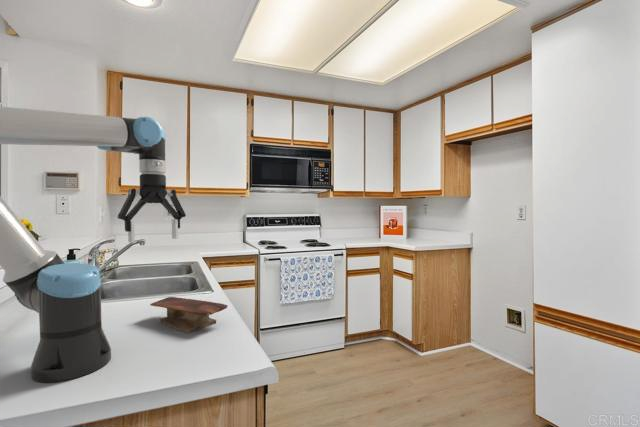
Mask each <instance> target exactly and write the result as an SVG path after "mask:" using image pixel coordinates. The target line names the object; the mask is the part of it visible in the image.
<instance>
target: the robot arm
mask: <svg viewBox="0 0 640 427" xmlns="http://www.w3.org/2000/svg"><path fill="white" fill-rule="evenodd" d="M0 145H20V146H21V145H25V146H26V145H30V146H67V147H68V146H71V147H73V146H75V147H77V146H78V147H80V146H81V147H84V146H85V147H86V146H87V147H96V148H97V149H99V150H102V151H108V152H119V153H128V154H135V155H138V160H139V161H138V162H139V165H138V166H139V168H138V169H139V173H140V175H139V189H136V188H129V189H128V195H127V197H126V198H125V199H126V200H125V201H124V203H123V205H122V207H121V209H120V211H119V213H118V215H117V219H118V220H123V221H124V231H125V232H127V233H128V235H127V238H128V243H131V244H132V243H133V244H134V243H135V221H134V220H133V218H134V217H135V216H136V215H137V214H138V212H139V211H140V210H141V209H142V208H143V207H144V206H145V205H146V204H161V205H162V206H163V207H164V208H165V210H166V211H167V212H168V213H169V214H170V215H171V217H173V218H172V219H171V239H174V240H178V239H179V229H181V219H183V218H185V217H186V215H187V214H186V213H185V211H184V208H183V206H182V204H181V203H180V200H179V199H178V197H177V191H176V189H169V190H167V177H166V133H165V129H164V127H162V125H160V123H159V122H158V120H156V119H155V118H153V117H149V116H140V117H137V118H133V117H132V118H129V117H119V116H118V117H117V116H107V115H97V114H84V113H74V112H65V111H54V110H53V111H52V110H43V109H42V110H41V109H32V108H30V109H29V108H23V107H22V108H21V107H10V106H0ZM138 195H139V196H140V197H141V198H140V199H139V200H137V203H136V204H135V205H134V206H133V207H132V208H131V206H132V204H133V202H134V200H135V199H136V197H137V196H138ZM166 196H168V197H169V199H170V201H171V203H172V204H170V202H169V200H168V199H167V198H166ZM172 205H173V206H172ZM130 208H131V209H130ZM0 267H1V268H2V270H4V274H3V277H2V281H3V282H4V283H5V285H6V287H8V288H9V289H10V290H11V291H12V292H13V293H14V296H15V298H16V300H17V302H18V303H20V304H21V305H22V306H23V307H25V308H27V309H28V310H31V311H34V312H36V313H38V318H39V321H38V322H39V338H40V339H39V342H38V345H37V348H36V351H35V354H34V357H33V359H32V362H31V365H30V377H31V379H32V380H33V381H35V382H40V383H56V382H62V381H68V380H73V379H77V378H79V377H83V376H85V375H89V374H91V373H93V372H95V371H97V370H99V369H101V368H103V367H104V366H106V365H107V364H108V363H110V361H111V359H112V348H111V345H110V343H109V341H108V339H107V337H106V335H105V332H104V329H103V327H102V325H103V324H102V294H101V293H102V292H101V290H102V288H101V285H102V279H101V276H100V275H101V274H100V269H99V268H98V267H97V266H95V265H93V264H90V263H80V262H70V263H65V262H64V260H63V259H62V258H61V257H60V255H58V253H57V251H54V250H49V249H45V248H44V247H43V246H42V245H41V244H40V242H39V241H38V240H37V239H36V237H35V236H34V235H33V234H32V233H31V231H30V230H29V229H28V228H27V227H26V225H25V224H24V223H23V221H21V220H20V218H19V217H18V216H17V214H15V212H14V211H13V210H12V209H11V207H10V206H9V205H8V204H7V202H6V201H5V200H4V199H3V197H2V196H1V195H0Z"/></svg>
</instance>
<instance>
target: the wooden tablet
mask: <svg viewBox="0 0 640 427" xmlns="http://www.w3.org/2000/svg"><path fill="white" fill-rule="evenodd" d="M149 306H151V307H159V308H163V309H167V308H168V309H174V310H180V311H184V312H188V313H192V314H196V315H202V316H208V315H209V316H211V315H214V314H215V313H219V312H221V311H223V310H225V309H227V308H228V305H227V304H224V303H220V302H214V301H209V300H208V301H207V300H201V299H199V300H198V299H192V298H184V297H176V296H175V297H174V296H168V297H165V298H162V299H160V300H157V301H154V302H151V303H150V304H149Z"/></svg>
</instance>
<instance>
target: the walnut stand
mask: <svg viewBox="0 0 640 427" xmlns="http://www.w3.org/2000/svg"><path fill="white" fill-rule="evenodd" d="M159 322H160V323H162V324H164V325H167V326H169V327H171V328H173V329H176V330H178V331H181V332H184V333H186V334H188V333H191V332H194V331H196V330H197V331H198V330H200V329H203V328H206V327H209V326H212V325H215V324H217V320H216V319H215V318H211V317H210V315H208V316H202V315H196V314H192V313H188V312H184V311H180V310H174V309H168V308H166V316H164V317H161V318H159Z"/></svg>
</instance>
